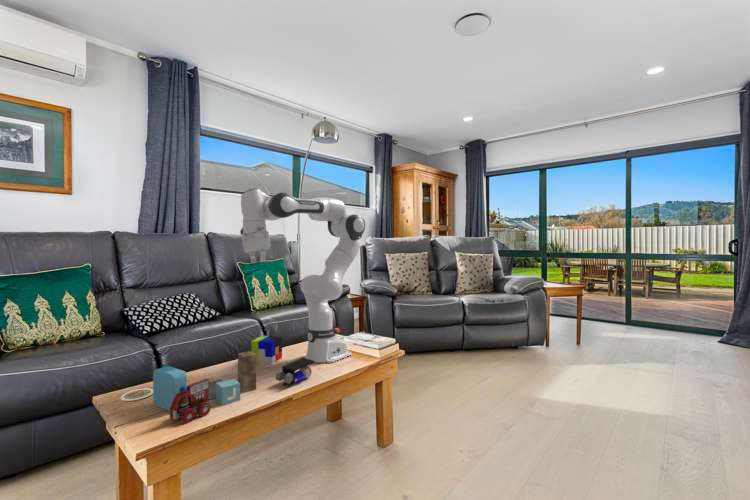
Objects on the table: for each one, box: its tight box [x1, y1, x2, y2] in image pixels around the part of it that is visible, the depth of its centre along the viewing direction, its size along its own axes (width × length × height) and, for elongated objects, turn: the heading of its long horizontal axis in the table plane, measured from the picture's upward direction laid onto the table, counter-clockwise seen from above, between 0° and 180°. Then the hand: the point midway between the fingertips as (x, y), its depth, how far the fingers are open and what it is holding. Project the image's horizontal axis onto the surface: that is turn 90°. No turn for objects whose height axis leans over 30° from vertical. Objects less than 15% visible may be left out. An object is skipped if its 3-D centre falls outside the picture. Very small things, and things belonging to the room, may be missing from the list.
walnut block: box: [237, 350, 257, 393], centre depth 136 cm, size 4×6×13 cm
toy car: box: [274, 357, 315, 388], centre depth 143 cm, size 7×8×15 cm
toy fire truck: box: [169, 378, 212, 424], centre depth 114 cm, size 7×12×10 cm, turn 148°
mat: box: [209, 379, 224, 401], centre depth 135 cm, size 10×16×1 cm, turn 43°
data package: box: [152, 365, 188, 412], centre depth 121 cm, size 12×4×12 cm, turn 59°
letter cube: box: [215, 378, 241, 406], centre depth 126 cm, size 6×6×6 cm
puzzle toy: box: [250, 335, 283, 365], centre depth 169 cm, size 10×10×10 cm
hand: (258, 262), depth 150 cm, fingers open, 8 cm apart
